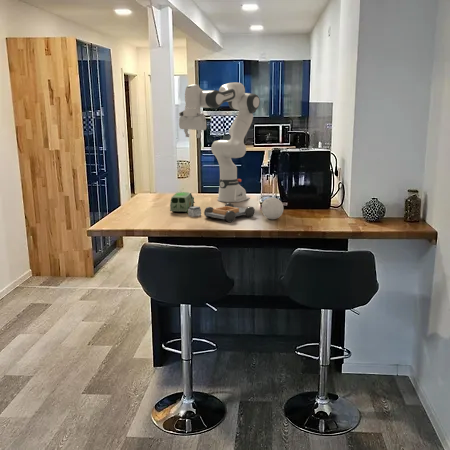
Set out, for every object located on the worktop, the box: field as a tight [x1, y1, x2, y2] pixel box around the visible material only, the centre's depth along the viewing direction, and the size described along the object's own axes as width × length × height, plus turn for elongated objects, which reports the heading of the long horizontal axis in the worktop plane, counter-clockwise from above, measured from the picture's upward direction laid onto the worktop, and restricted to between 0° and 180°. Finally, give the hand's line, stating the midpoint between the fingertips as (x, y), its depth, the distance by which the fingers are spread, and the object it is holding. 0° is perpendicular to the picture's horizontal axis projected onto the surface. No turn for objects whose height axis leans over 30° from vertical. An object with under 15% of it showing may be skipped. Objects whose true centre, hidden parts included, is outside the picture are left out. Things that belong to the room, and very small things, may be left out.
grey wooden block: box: [187, 205, 202, 218], centre depth 289 cm, size 6×4×5 cm
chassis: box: [203, 202, 256, 223], centre depth 284 cm, size 24×18×6 cm
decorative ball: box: [261, 197, 284, 220], centre depth 279 cm, size 12×12×12 cm
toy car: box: [169, 191, 196, 214], centre depth 306 cm, size 11×25×10 cm, turn 173°
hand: (192, 137), depth 299 cm, fingers open, 8 cm apart
